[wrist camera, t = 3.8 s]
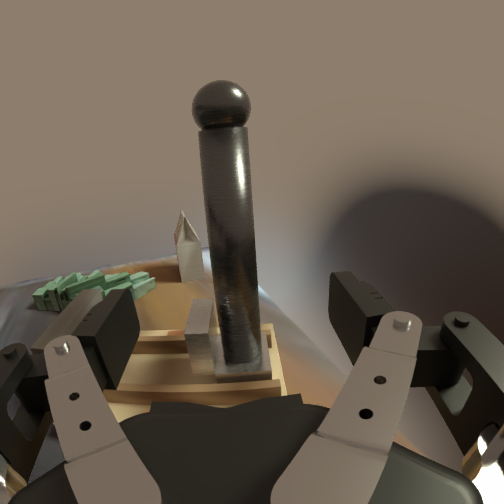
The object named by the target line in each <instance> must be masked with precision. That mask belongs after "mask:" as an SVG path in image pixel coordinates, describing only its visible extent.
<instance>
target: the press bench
mask: <svg viewBox="0 0 504 504" xmlns="http://www.w3.org/2000/svg"><path fill="white" fill-rule="evenodd" d="M102 300H103V298H102V294H101V290H100V289H83V290H82V291H81V292H80V293H79V294H78V295H77V296H76V297H75V298H74V299H73V300H72V301H71V302H70V303H69V305H68V306H67V307H66V308H65V309H64V310H63V311H62V312H61V313H60V314H59V315H58V317H57V318H56V319H55V320H54V321H53V322H52V323H51V324H50V326H49V327H48V328H47V329H46V330H45V331H44V332H43V334H42V335H41V336H40V337H39V338H38V339H37V341H36V342H35V343H34V344H33V345H32V346H31V348H30V349H31V351H32V353H33V355H35V354H42V353H44V349H45V347H46V345H47V344H48V343H49V342H50V341H52V340H54V339H55V338H58V337H61V336H65V335H71V334H72V333H73V332H74V330H75V329H76V328H77V326H78V325H79V324H80V322H81V321H83V318H84V317H85V316H86V315H87V313H88V312H89V311H90V309H91V308H92V307H93V306H95V305H96V304H98V303H99V302H101V301H102ZM260 326H261V332H266V337H267V343H268V350H269V356H270V362H271V368H272V380H264V381H252V382H239V383H221V384H217V380H216V375H215V374H206V375H193V372H192V367H191V363H190V359H189V354H188V350H187V346H186V341H185V336H184V333H185V329H184V330H155V331H140V335H139V338H138V340H137V342H136V345H135V347H134V349H133V352H132V354H131V356H130V359H129V361H128V363H127V366H126V368H125V370H124V373H123V375H122V378H121V380H120V382H119V385H118V387H117V390H107V389H104V391H103V395H104V397H105V399H106V401H107V403H108V405H109V407H110V408H111V410H112V412H113V414H114V416H115V418H116V420H117V421H118V423H119V422H121V421H123V420H125V419H127V418H129V417H132V416H135V415H138V414H142V413H146V412H149V411H150V407H151V404H152V402H190V403H195V404H201V405H207V406H213V407H220V408H227V407H231V406H235V405H239V404H243V403H247V402H251V401H254V400H258V399H261V398H268V397H277V396H286V395H287V391H286V386H285V382H284V377H283V372H282V367H281V362H280V358H279V353H278V348H277V343H276V339H275V334H274V329H273V324H272V323H271V324H260ZM217 331H218V335H220V328H217ZM53 425H54V427H55V424H54V422H53Z"/></svg>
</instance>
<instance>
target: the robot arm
mask: <svg viewBox="0 0 504 504" xmlns="http://www.w3.org/2000/svg"><path fill="white" fill-rule="evenodd" d="M328 312H329V319H330V322H331V324H332V326H333V328H334V330H335V332H336V333H337V335H338V337H339V339H340V341H341V343H342V345H343V347H344V349H345V351H346V352H347V354H348V356H349V358H350V360H351V362H352V364H353V366H354V367H353V369H352V371H351V373H350V375H349V377H348V379H347V380H346V382H345V384H344V386H343V388H342V390H341V391H340V393H339V395H338V397H337V398H336V400H335V402H334V404H333V405H332V407H331V409H330V408H326V407H323V406H318V405H311V404H303V401H302V397H301V394H293V395H286V396H277V397H268V398H261V399H258V400H254V401H251V402H247V403H243V404H239V405H235V406H231V407H227V408H220V407H213V406H207V405H201V404H195V403H190V402H152V404H151V407H150V411H149V412H146V413H142V414H138V415H135V416H132V417H129V418H127V419H125V420H123V421H121V422H119V423H118V421H117V420H116V418H115V416H114V414H113V412H112V410H111V408H110V407H109V405H108V403H107V401H106V399H105V397H104V395H103V391H104V389H107V390H117V387H118V385H119V382H120V380H121V378H122V375H123V373H124V370H125V368H126V366H127V363H128V361H129V359H130V356H131V354H132V352H133V349H134V347H135V345H136V342H137V340H138V338H139V335H140V324H139V320H138V316H137V312H136V308H135V305H134V301H133V296H132V293H131V291H130V289H128V288H126V289H111V290H110V291H109V293H108V294H107V295H106V297H105V298H104V299H103V300H102V301H101V302H99V303H98V304H96V305H95V306H93V307H92V308H91V309H90V311H89V312H88V313H87V315H86V316H85V317H84V318H83V321H81V322H80V324H79V325H78V326H77V328H76V329H75V330H74V332H73V333H72V334H71V335H65V336H61V337H58V338H55V339H54V340H52V341H50V342H49V343H48V344H47V345H46V347H45V349H44V353H42V354H35V355H29V352H28V350H27V348H26V346H25V345H24V344H21V343H15V344H11V345H9V346H7V347H5V348H3V349H2V350H1V351H0V504H504V345H503V344H502V343H501V342H500V341H499V340H498V339H497V338H496V337H495V336H494V335H493V334H492V333H491V332H489V330H488V329H486V328H485V327H484V326H483V325H482V324H481V323H480V322H479V321H478V320H477V319H476V318H475V317H473V316H472V315H469V314H467V313H464V312H450V313H448V314H446V315H445V316H444V318H443V323H442V326H422V322H421V320H420V319H419V318H418V317H417V316H415V315H413V314H411V313H407V312H402V311H395V309H394V308H392V306H391V305H390V304H389V303H388V302H387V301H386V300H385V299H383V296H381V294H379V293H378V291H377V290H376V289H375V288H374V287H373V286H372V285H370V284H368V283H366V282H364V281H359V280H358V279H357V278H356V277H355V276H354V275H353V274H352V273H351V272H350V271H343V272H334V273H331V275H330V285H329V307H328ZM465 367H466V368H467V370H468V371H469V372H470V374H471V375H472V378H473V388H472V387H471V386H470V385H469V383H468V382H467V381H466V379H465V378H464V377H463V372H464V370H465ZM410 387H425V388H426V390H427V391H428V393H429V395H430V396H431V398H432V400H433V401H434V403H435V405H436V407H437V408H438V410H439V412H440V413H441V415H442V417H443V418H444V420H445V422H446V424H447V426H448V427H449V429H450V431H451V433H452V435H453V436H454V438H455V440H456V442H457V444H458V446H459V448H460V449H461V451H462V453H463V455H464V459H463V461H462V473H463V474H461V473H459V472H457V471H455V470H452V469H450V468H448V467H446V466H443V465H441V464H439V463H437V462H435V461H432V460H430V459H428V458H426V457H424V456H422V455H420V454H418V453H415V452H413V451H411V450H409V449H407V448H405V447H403V446H401V445H399V444H397V443H395V442H394V441H393V440H394V437H395V434H396V431H397V428H398V425H399V422H400V419H401V416H402V413H403V409H404V406H405V403H406V399H407V396H408V392H409V388H410ZM13 393H15V394H16V396H17V397H18V399H19V401H20V402H21V406H20V408H19V410H18V412H17V413H16V415H15V417H14V419H13V421H12V420H11V419H10V417H9V416H8V413H7V403H8V401H9V400H10V398H11V396H12V395H13ZM52 420H54V424H55V428H56V431H57V435H58V438H59V441H60V444H61V447H62V450H63V453H64V456H65V461H63V462H62V463H61V464H59V465H58V466H56V467H55V468H53V469H52V470H50V471H49V472H47V473H45V474H44V475H42V476H41V477H39V478H38V479H36V480H35V481H33V482H32V483H30V484H28V485H27V483H28V480H29V477H30V475H31V472H32V469H33V466H34V464H35V461H36V459H37V456H38V453H39V451H40V448H41V446H42V443H43V441H44V439H45V436H46V434H47V431H48V429H49V427H50V424H51V422H52Z"/></svg>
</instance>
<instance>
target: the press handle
mask: <svg viewBox="0 0 504 504" xmlns="http://www.w3.org/2000/svg"><path fill="white" fill-rule="evenodd" d="M250 111H251V105H250V100H249V97H248V95H247V93H246V92H245V91H244V89H243V88H241V87H240V86H239V85H237V84H236V83H233V82H230V81H225V80H218V81H214V82H211V83H208V84H206V85H205V86H203V87H202V88H201V89H200V90H199V91H198V92H197V94H196V95H195V97H194V100H193V103H192V115H193V118H194V120H195V122H196V124H197V125H198V126H199V127H200V128H201V129H202V131H199V132H198V136H199V149H200V159H201V160H200V161H201V172H202V183H203V193H204V204H205V213H206V224H207V233H208V241H209V251H210V259H211V268H212V276H213V284H214V291H215V299H216V307H217V314H218V321H219V328H220V335H218V331H217V324H216V317H215V310H214V303H213V298H205V299H193V301H192V305H191V309H190V313H189V317H188V321H187V325H186V329H185V333H184V336H185V341H186V346H187V350H188V354H189V359H190V363H191V367H192V372H193V375H206V374H215V375H216V380H217V384H221V383H239V382H252V381H264V380H272V368H271V362H270V356H269V350H268V343H267V337H266V332H261V326H260V310H259V295H258V281H257V266H256V265H257V264H256V249H255V234H254V219H253V203H252V189H251V175H250V159H249V146H248V130H247V127H243V126H244V125H245V124H246V122H247V120H248V118H249V116H250Z"/></svg>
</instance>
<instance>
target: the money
mask: <svg viewBox="0 0 504 504" xmlns="http://www.w3.org/2000/svg"><path fill="white" fill-rule="evenodd" d="M126 288H128V289H130V291H131V293H132V296H133V301H134V300H136V299H138V298H140V297H142V296H143V295H145V294H147V293H148V292H149V291H151V290H153V289H156V285H155V277H153V278H149V273H147V272H142V271H141V272H138V273H136V274H133V275H131V276H130V274H129V273H127V272H123V273H120V274H116V273H115V274H114V275H106V276H105V275H104V274H103V273H100V270H95V271H94V272H93V273H91V274H90V275H89V276H81V273H76V272H73V273H71V274H70V275H69V276H67V277H66V278H65V279H64V280H63V279H62V277H57V278H56V279H55V280H54V281H50V282H48V283H47V284H46V285H45V286H44V287H43V288H39V289H38V290H37V291H36V292H34V294H32V296H33V298H34V301H35V304H36V306H37V308H38V310H54V311H63V310H64V309H65V308H66V307H67V306H68V305H69V303H70V302H71V301H72V300H73V299H74V298H75V297H76V296H77V295H78V294H79V293H80V292H81V291H82V290H83V289H100V290H101V294H102V298H103V299H104V298H105V297H106V295H107V294H108V293H109V291H110V290H111V289H126Z"/></svg>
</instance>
